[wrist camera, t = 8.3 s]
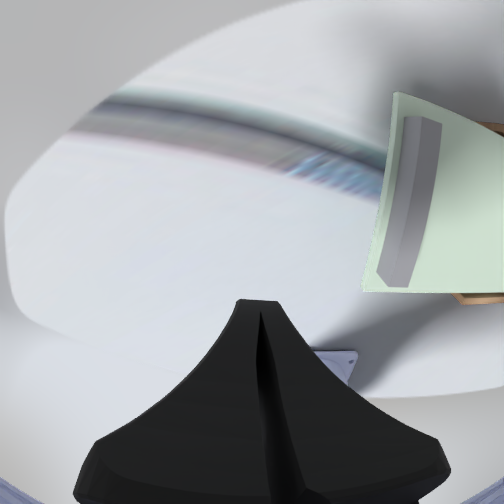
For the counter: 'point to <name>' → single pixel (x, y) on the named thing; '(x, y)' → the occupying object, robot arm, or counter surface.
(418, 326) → the counter surface
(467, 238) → the lid
